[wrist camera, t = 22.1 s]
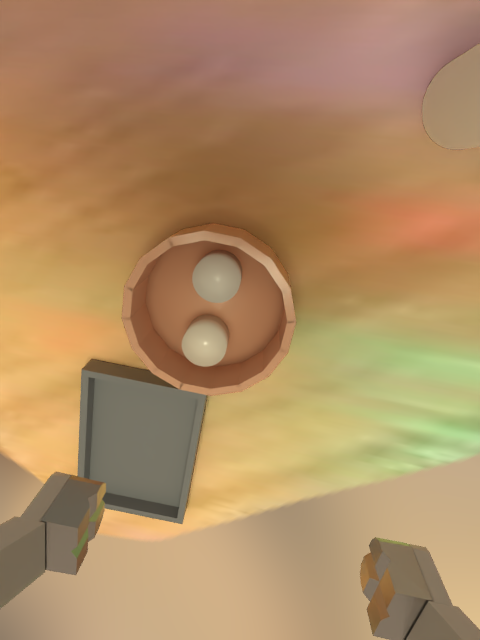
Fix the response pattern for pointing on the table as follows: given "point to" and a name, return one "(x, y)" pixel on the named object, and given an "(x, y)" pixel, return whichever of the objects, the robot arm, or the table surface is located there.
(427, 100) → the cylindrical container
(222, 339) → the sandstone pebble
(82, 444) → the parts tray
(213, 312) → the terracotta bowl
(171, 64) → the table surface
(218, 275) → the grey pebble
